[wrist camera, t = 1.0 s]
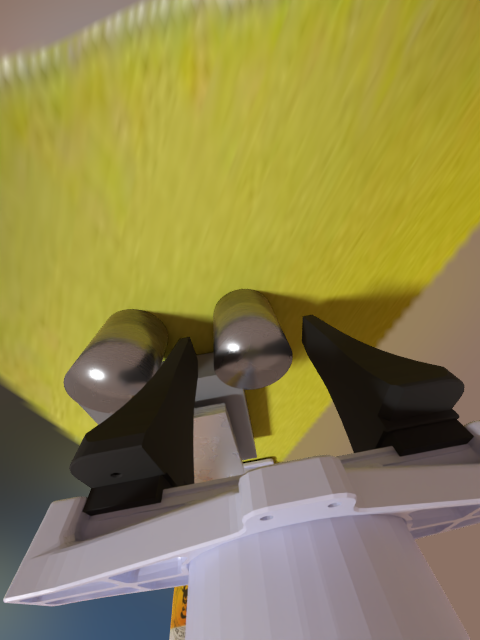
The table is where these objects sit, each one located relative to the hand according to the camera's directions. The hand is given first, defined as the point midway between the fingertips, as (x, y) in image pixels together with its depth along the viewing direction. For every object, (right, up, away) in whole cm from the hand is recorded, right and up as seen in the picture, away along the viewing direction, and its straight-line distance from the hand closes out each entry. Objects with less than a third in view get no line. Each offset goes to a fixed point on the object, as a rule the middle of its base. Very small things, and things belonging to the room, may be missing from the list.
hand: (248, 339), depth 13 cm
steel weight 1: (-8, 0, +2) cm, 9 cm away
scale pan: (-5, -10, +5) cm, 13 cm away
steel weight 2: (0, +2, +2) cm, 3 cm away
